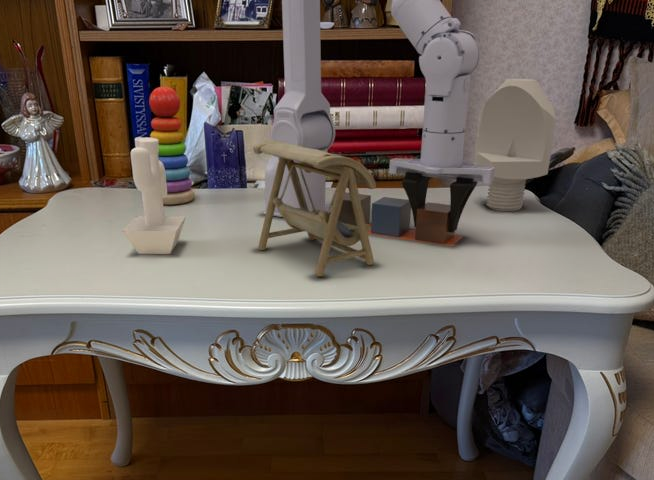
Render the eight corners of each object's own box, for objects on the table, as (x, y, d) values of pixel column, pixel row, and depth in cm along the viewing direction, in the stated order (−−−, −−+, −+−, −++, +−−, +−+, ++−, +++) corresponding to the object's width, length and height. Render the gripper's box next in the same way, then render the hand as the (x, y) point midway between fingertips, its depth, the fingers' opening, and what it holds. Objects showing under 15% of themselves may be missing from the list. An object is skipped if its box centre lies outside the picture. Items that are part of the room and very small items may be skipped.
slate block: (370, 233, 99) (371, 203, 97) (382, 225, 103) (383, 196, 101) (398, 237, 97) (400, 206, 95) (409, 229, 101) (411, 200, 99)
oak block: (331, 227, 102) (331, 198, 100) (343, 220, 106) (344, 192, 104) (357, 231, 100) (358, 201, 98) (369, 224, 104) (371, 195, 102)
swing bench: (376, 265, 87) (382, 148, 80) (316, 280, 82) (316, 157, 75) (312, 238, 98) (312, 133, 91) (256, 249, 93) (251, 139, 86)
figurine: (189, 239, 97) (180, 132, 90) (177, 260, 89) (166, 143, 82) (140, 239, 97) (127, 132, 91) (123, 259, 89) (107, 143, 82)
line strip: (320, 226, 103) (320, 226, 103) (334, 219, 107) (334, 218, 107) (452, 246, 94) (452, 245, 94) (462, 237, 98) (462, 236, 98)
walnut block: (414, 239, 96) (416, 209, 94) (425, 232, 100) (427, 202, 98) (444, 244, 94) (447, 212, 92) (454, 236, 98) (457, 205, 96)
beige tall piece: (469, 200, 117) (483, 77, 108) (521, 199, 117) (539, 77, 108) (485, 214, 109) (501, 82, 100) (541, 213, 109) (562, 82, 100)
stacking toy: (190, 206, 114) (181, 89, 106) (144, 206, 114) (131, 89, 106) (198, 195, 121) (189, 84, 113) (154, 195, 122) (142, 84, 113)
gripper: (382, 130, 90) (378, 228, 96) (489, 138, 84) (477, 242, 90) (401, 124, 96) (396, 217, 102) (503, 130, 89) (490, 229, 96)
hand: (435, 228), depth 96 cm, fingers closed on walnut block, 4 cm apart
